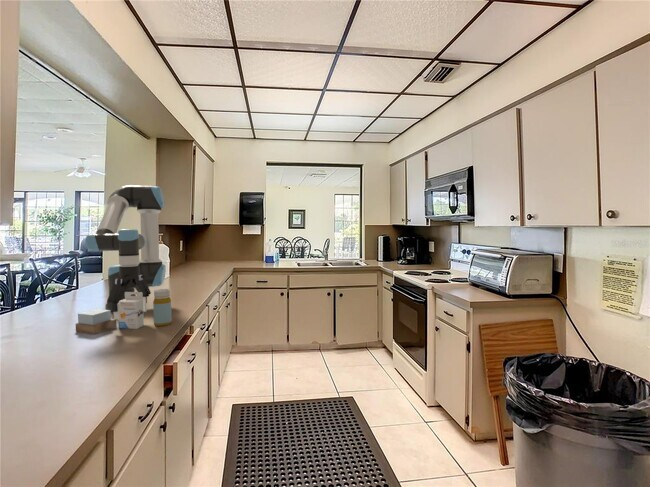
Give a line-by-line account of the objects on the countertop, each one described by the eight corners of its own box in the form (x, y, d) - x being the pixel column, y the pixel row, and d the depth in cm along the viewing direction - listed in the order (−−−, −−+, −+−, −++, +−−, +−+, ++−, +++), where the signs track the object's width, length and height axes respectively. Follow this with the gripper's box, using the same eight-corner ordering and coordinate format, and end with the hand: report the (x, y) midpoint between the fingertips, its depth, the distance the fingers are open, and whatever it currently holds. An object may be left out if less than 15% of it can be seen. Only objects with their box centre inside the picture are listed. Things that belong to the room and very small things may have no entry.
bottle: (151, 324, 149) (150, 290, 148) (167, 321, 154) (166, 288, 153) (157, 327, 144) (156, 292, 143) (174, 324, 149) (173, 290, 148)
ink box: (117, 328, 143) (116, 294, 142) (125, 325, 148) (124, 291, 147) (137, 329, 142) (136, 294, 141) (144, 325, 147) (143, 291, 146)
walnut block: (98, 326, 147) (98, 317, 147) (116, 328, 145) (116, 319, 144) (75, 333, 138) (75, 323, 138) (94, 335, 135) (94, 325, 135)
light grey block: (96, 318, 146) (96, 308, 145) (110, 319, 143) (110, 310, 143) (78, 323, 138) (77, 313, 138) (92, 325, 136) (92, 315, 135)
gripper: (145, 262, 156) (146, 308, 157) (95, 268, 132) (97, 322, 133) (158, 262, 154) (159, 308, 155) (110, 269, 130) (112, 323, 131)
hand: (130, 315), depth 144 cm, fingers open, 13 cm apart
